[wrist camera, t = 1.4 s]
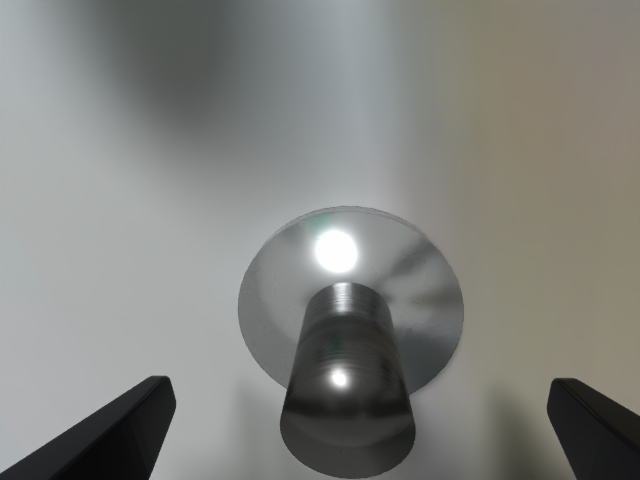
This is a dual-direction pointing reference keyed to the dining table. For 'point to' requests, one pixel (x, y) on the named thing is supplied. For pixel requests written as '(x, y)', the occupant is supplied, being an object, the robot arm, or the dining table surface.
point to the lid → (350, 333)
